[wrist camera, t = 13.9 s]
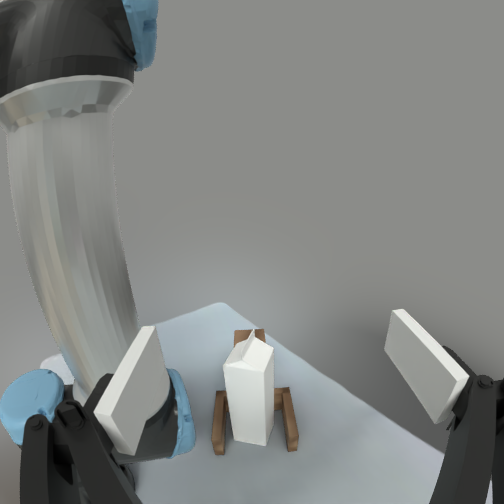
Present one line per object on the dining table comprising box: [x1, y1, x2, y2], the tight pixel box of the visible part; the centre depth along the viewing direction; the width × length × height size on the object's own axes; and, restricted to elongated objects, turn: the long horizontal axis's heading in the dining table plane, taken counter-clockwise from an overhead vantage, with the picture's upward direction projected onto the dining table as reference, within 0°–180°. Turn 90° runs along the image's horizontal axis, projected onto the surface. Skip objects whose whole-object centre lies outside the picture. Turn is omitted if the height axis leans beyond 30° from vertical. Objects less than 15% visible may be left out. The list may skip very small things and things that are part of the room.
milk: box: [223, 329, 274, 446], centre depth 40 cm, size 6×6×22 cm
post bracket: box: [211, 329, 299, 455], centre depth 43 cm, size 14×16×17 cm
